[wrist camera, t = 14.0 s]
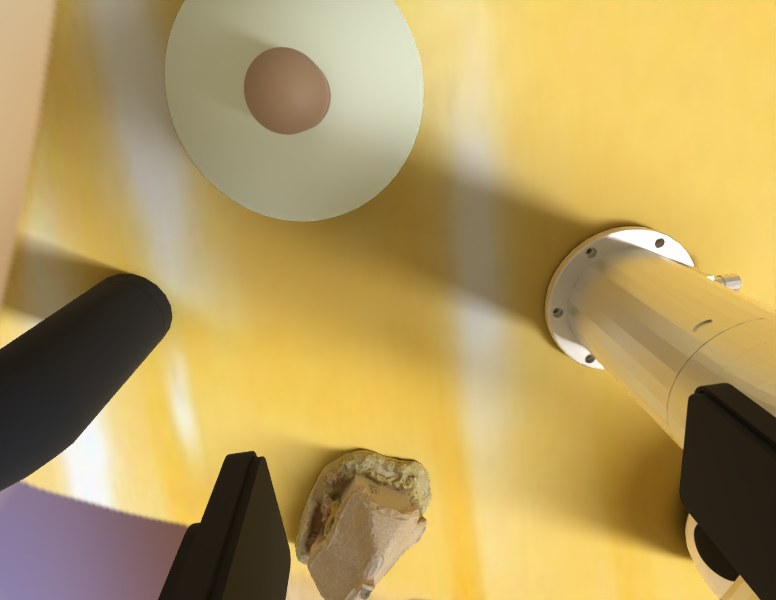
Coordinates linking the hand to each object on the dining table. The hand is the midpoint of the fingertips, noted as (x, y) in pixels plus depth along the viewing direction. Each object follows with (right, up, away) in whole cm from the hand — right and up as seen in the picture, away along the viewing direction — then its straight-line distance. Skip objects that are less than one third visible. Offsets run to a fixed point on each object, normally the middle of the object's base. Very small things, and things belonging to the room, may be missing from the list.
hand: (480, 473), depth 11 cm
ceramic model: (-5, -16, +39) cm, 42 cm away
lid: (-7, +16, +20) cm, 26 cm away
